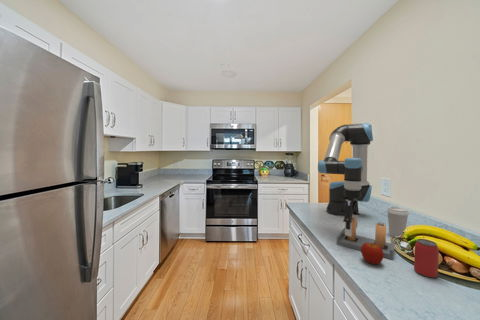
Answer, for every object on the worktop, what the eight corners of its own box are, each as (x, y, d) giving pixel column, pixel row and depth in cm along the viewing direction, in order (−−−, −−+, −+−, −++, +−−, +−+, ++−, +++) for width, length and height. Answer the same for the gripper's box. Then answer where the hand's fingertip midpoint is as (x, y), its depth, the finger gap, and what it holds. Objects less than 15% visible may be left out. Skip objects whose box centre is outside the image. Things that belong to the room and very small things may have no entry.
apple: (372, 269, 79) (373, 249, 78) (356, 258, 86) (356, 240, 86) (387, 265, 81) (388, 246, 80) (370, 256, 88) (370, 238, 88)
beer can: (413, 273, 76) (414, 241, 75) (414, 266, 81) (416, 236, 80) (437, 281, 71) (438, 247, 71) (437, 273, 76) (439, 242, 75)
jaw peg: (356, 242, 101) (357, 217, 101) (354, 245, 98) (355, 219, 98) (347, 240, 104) (348, 215, 103) (345, 242, 101) (346, 217, 100)
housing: (343, 235, 109) (344, 212, 109) (394, 248, 95) (395, 221, 94) (336, 244, 99) (337, 218, 99) (392, 259, 85) (393, 230, 84)
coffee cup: (402, 233, 112) (403, 206, 111) (412, 241, 103) (413, 212, 102) (382, 231, 115) (383, 205, 114) (390, 238, 105) (391, 210, 105)
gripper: (349, 184, 112) (348, 222, 113) (337, 192, 93) (336, 237, 94) (365, 186, 107) (364, 225, 108) (355, 194, 88) (354, 241, 89)
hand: (351, 231), depth 101 cm, fingers open, 13 cm apart
